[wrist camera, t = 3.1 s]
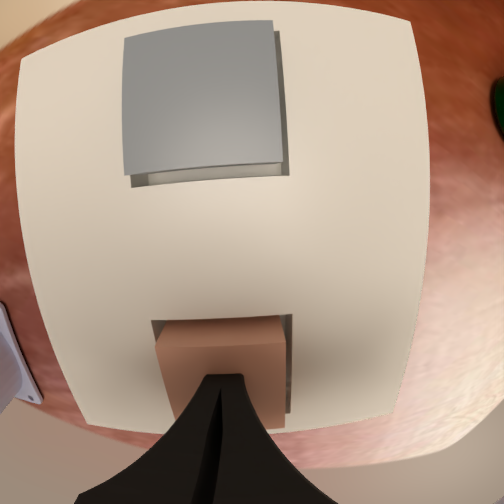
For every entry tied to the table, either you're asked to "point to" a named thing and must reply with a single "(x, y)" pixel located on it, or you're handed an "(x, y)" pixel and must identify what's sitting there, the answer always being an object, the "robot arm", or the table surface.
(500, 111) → the soda can
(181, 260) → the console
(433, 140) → the table surface
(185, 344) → the terracotta key
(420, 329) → the table surface
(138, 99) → the slate key
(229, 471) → the robot arm
